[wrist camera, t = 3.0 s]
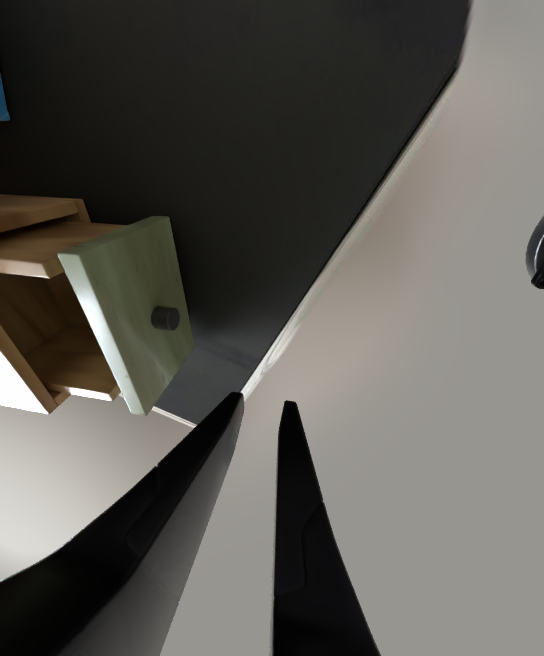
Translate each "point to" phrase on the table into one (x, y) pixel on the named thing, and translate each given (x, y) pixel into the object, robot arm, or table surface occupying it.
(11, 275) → the drawer
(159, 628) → the robot arm
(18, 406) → the cabinet
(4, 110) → the ink box
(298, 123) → the table surface
